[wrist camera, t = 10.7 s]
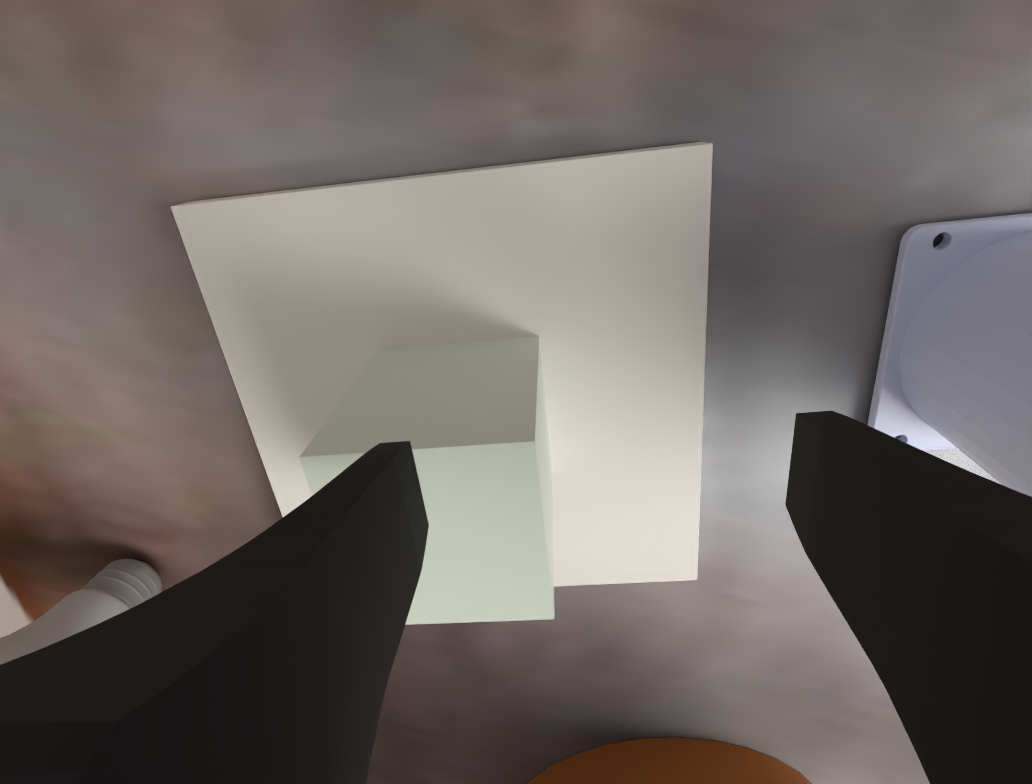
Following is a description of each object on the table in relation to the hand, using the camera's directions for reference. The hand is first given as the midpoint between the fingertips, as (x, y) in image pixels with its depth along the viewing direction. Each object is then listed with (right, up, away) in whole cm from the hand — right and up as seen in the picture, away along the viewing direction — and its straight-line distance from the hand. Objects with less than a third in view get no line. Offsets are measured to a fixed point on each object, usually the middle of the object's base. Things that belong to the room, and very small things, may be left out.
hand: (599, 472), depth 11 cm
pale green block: (-3, +1, +9) cm, 10 cm away
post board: (-3, +1, +10) cm, 11 cm away
